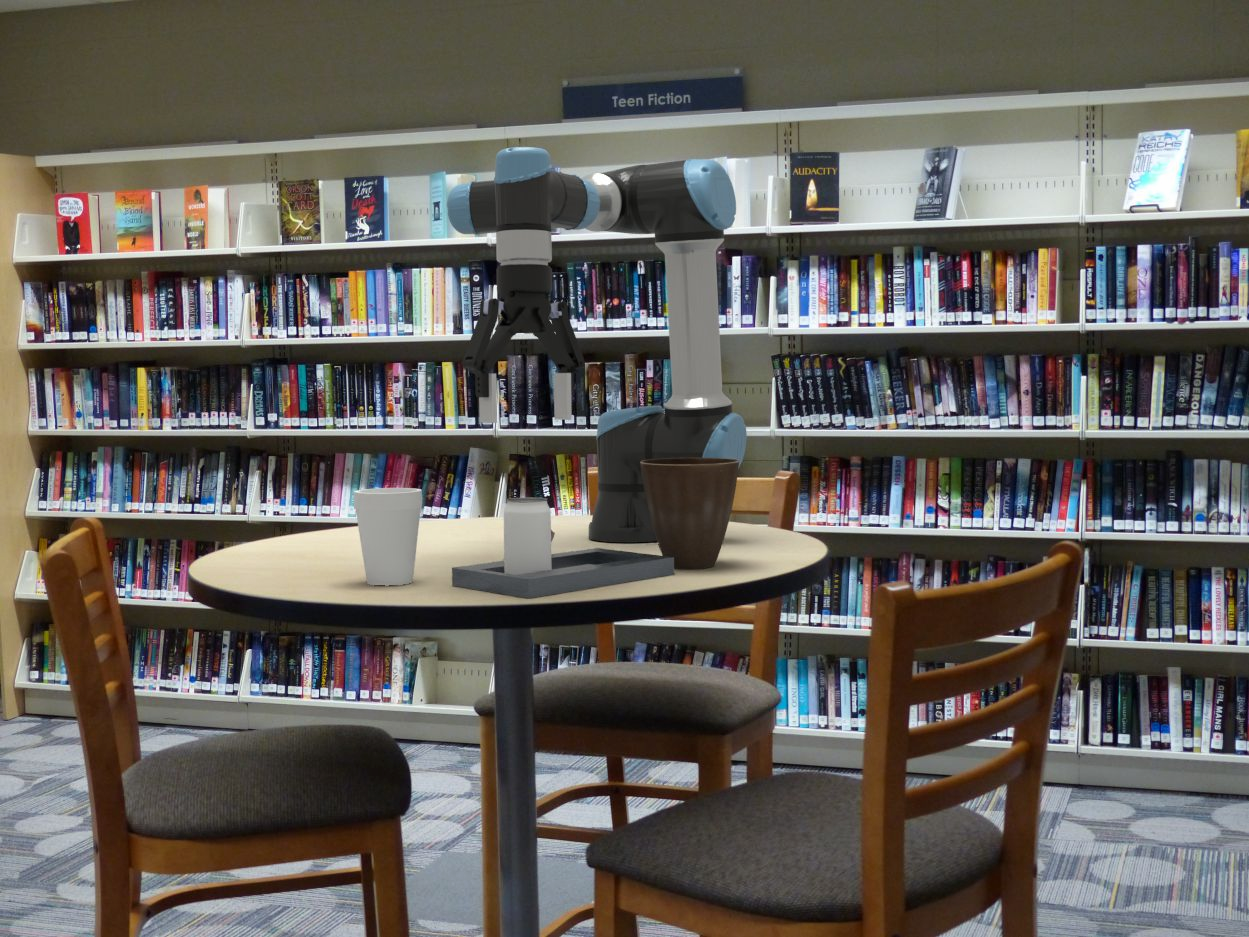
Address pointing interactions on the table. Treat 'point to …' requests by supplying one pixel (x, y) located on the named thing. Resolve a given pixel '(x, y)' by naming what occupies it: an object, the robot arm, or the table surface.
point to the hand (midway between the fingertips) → (526, 421)
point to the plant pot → (690, 506)
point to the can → (527, 536)
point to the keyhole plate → (565, 573)
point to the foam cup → (388, 533)
